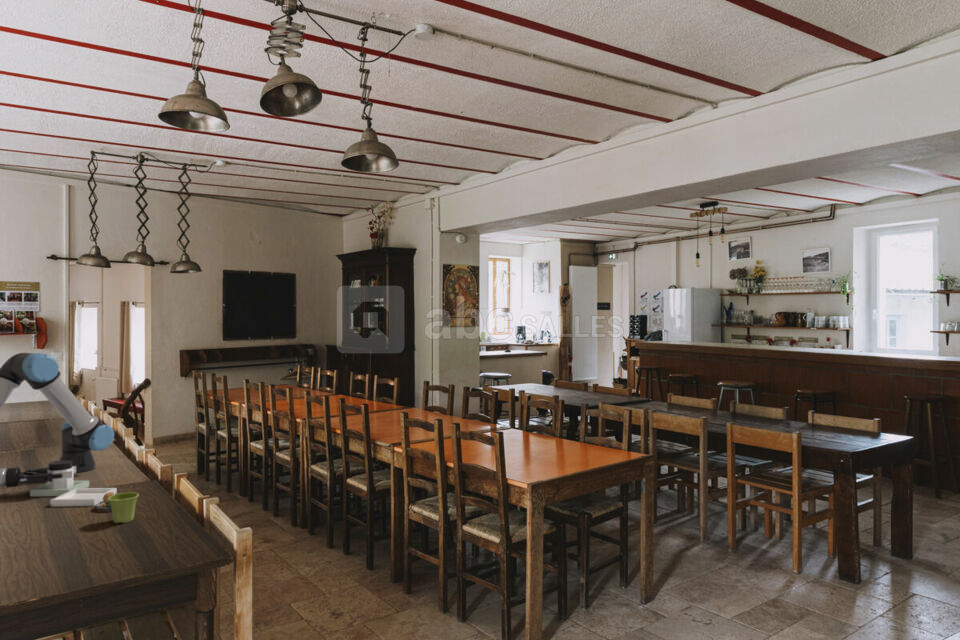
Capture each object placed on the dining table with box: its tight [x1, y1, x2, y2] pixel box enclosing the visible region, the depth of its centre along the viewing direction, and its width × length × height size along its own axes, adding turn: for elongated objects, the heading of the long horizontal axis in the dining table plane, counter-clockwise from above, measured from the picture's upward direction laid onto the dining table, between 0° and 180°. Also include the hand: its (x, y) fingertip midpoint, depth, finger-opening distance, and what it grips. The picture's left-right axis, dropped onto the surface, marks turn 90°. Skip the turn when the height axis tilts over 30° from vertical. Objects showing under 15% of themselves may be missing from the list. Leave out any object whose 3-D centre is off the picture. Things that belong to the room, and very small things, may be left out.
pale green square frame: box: [29, 480, 90, 497], centre depth 255 cm, size 14×15×2 cm
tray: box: [50, 487, 118, 507], centre depth 243 cm, size 16×16×2 cm
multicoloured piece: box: [94, 491, 114, 513], centre depth 234 cm, size 12×12×8 cm
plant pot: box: [108, 492, 140, 524], centre depth 219 cm, size 9×9×9 cm
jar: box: [46, 459, 75, 489], centre depth 255 cm, size 9×8×12 cm
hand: (74, 471), depth 257 cm, fingers closed on jar, 8 cm apart
